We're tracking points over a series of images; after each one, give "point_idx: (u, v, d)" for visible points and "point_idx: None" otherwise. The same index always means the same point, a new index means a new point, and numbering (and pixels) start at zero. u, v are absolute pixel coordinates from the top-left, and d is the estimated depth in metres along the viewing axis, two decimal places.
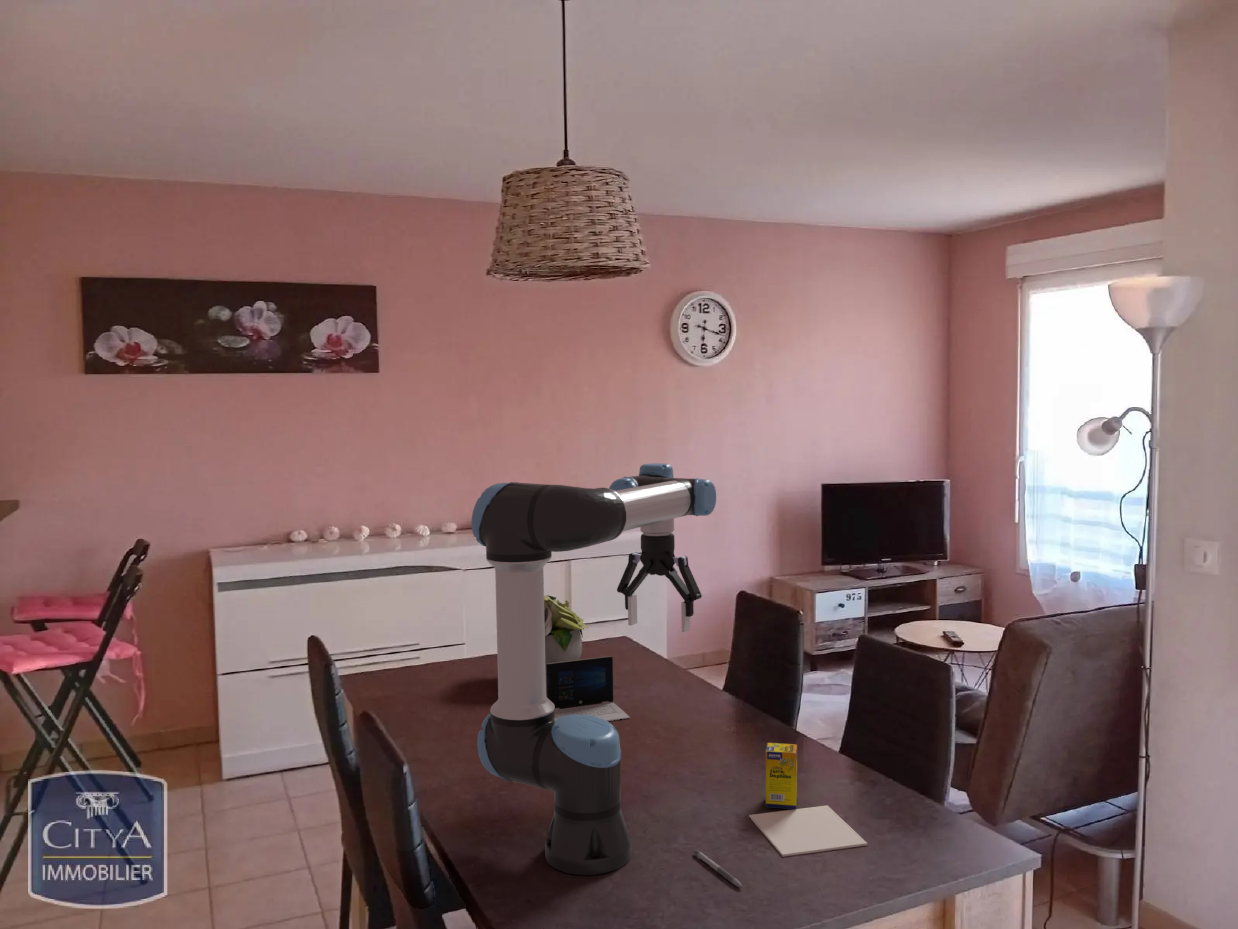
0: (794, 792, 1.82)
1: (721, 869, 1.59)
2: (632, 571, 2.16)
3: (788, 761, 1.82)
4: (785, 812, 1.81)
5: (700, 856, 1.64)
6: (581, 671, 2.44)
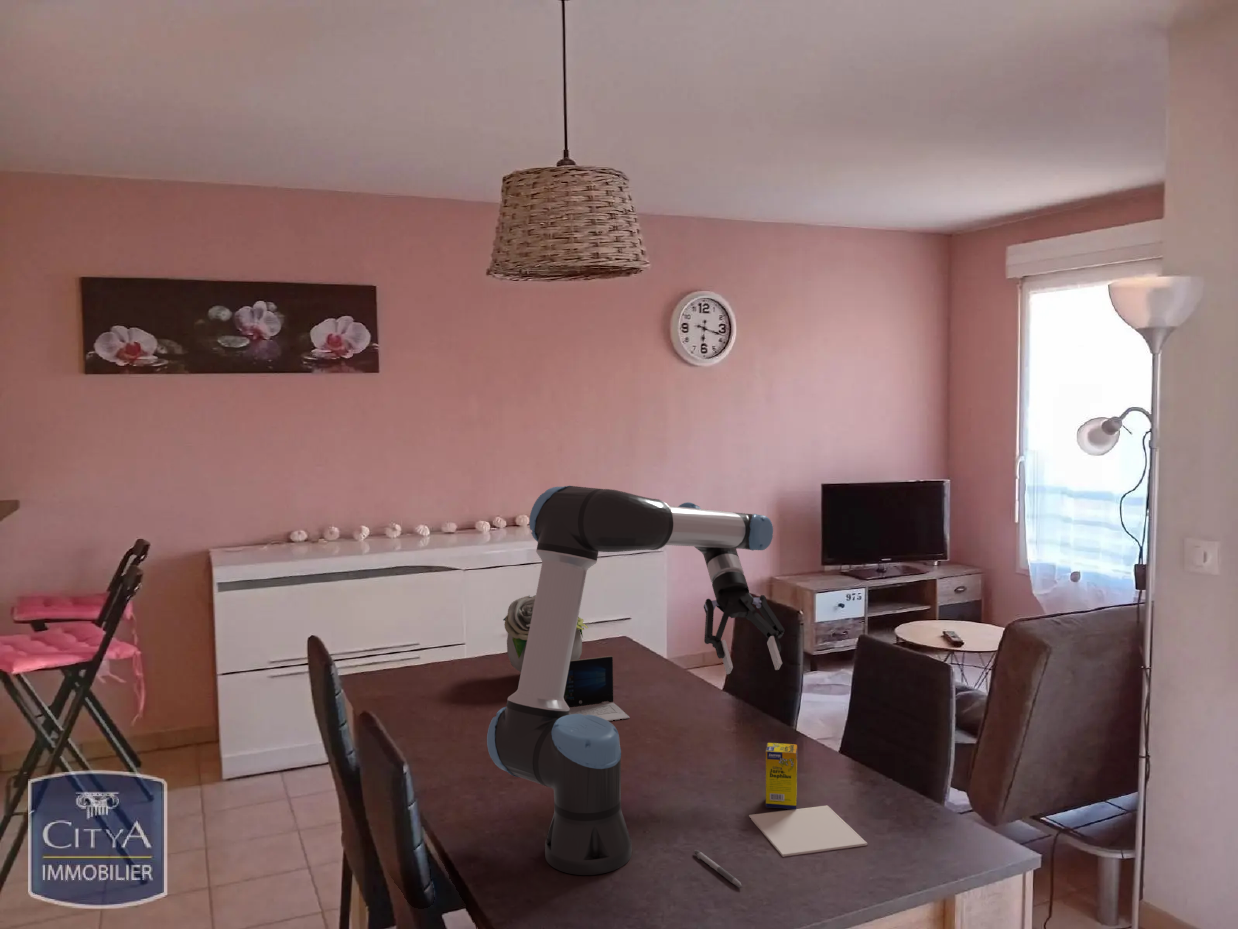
0: (794, 792, 1.82)
1: (721, 869, 1.59)
2: None
3: (788, 761, 1.83)
4: (785, 812, 1.81)
5: (700, 856, 1.64)
6: (581, 670, 2.44)
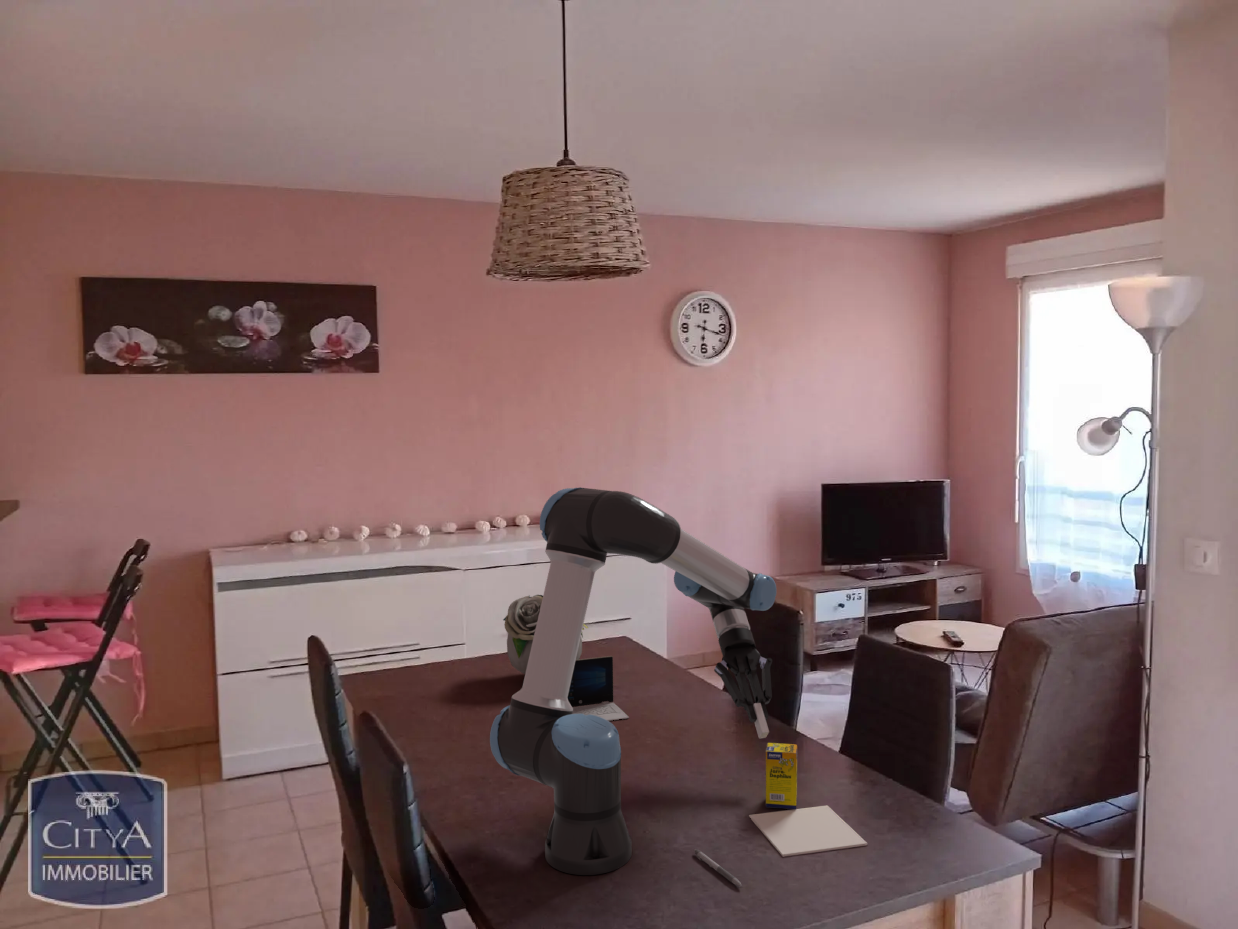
0: (794, 792, 1.82)
1: (721, 868, 1.59)
2: None
3: (788, 761, 1.83)
4: (785, 812, 1.81)
5: (700, 855, 1.64)
6: (581, 670, 2.44)
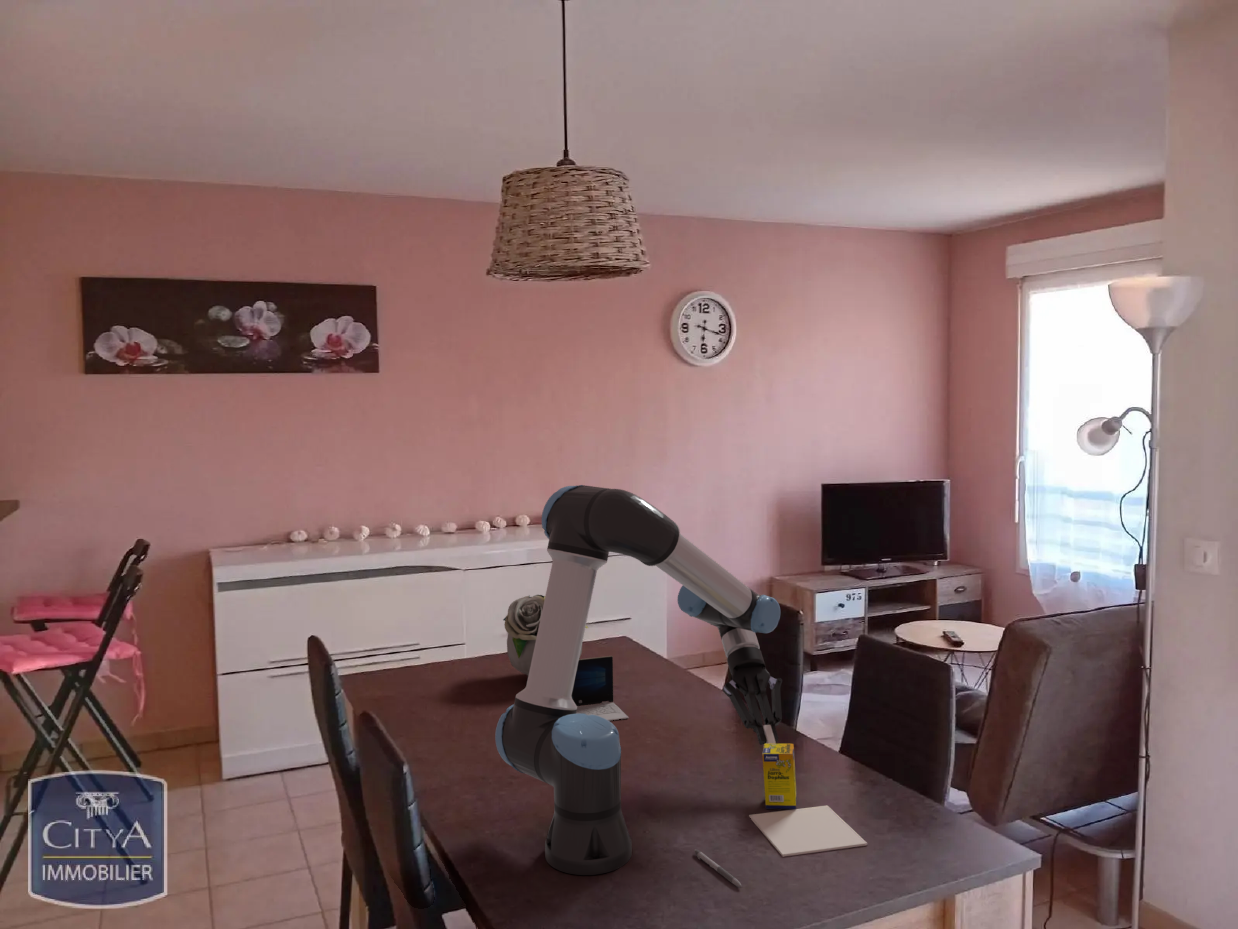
0: (793, 792, 1.82)
1: (721, 869, 1.59)
2: None
3: (785, 762, 1.82)
4: (785, 812, 1.81)
5: (700, 856, 1.64)
6: (581, 670, 2.44)
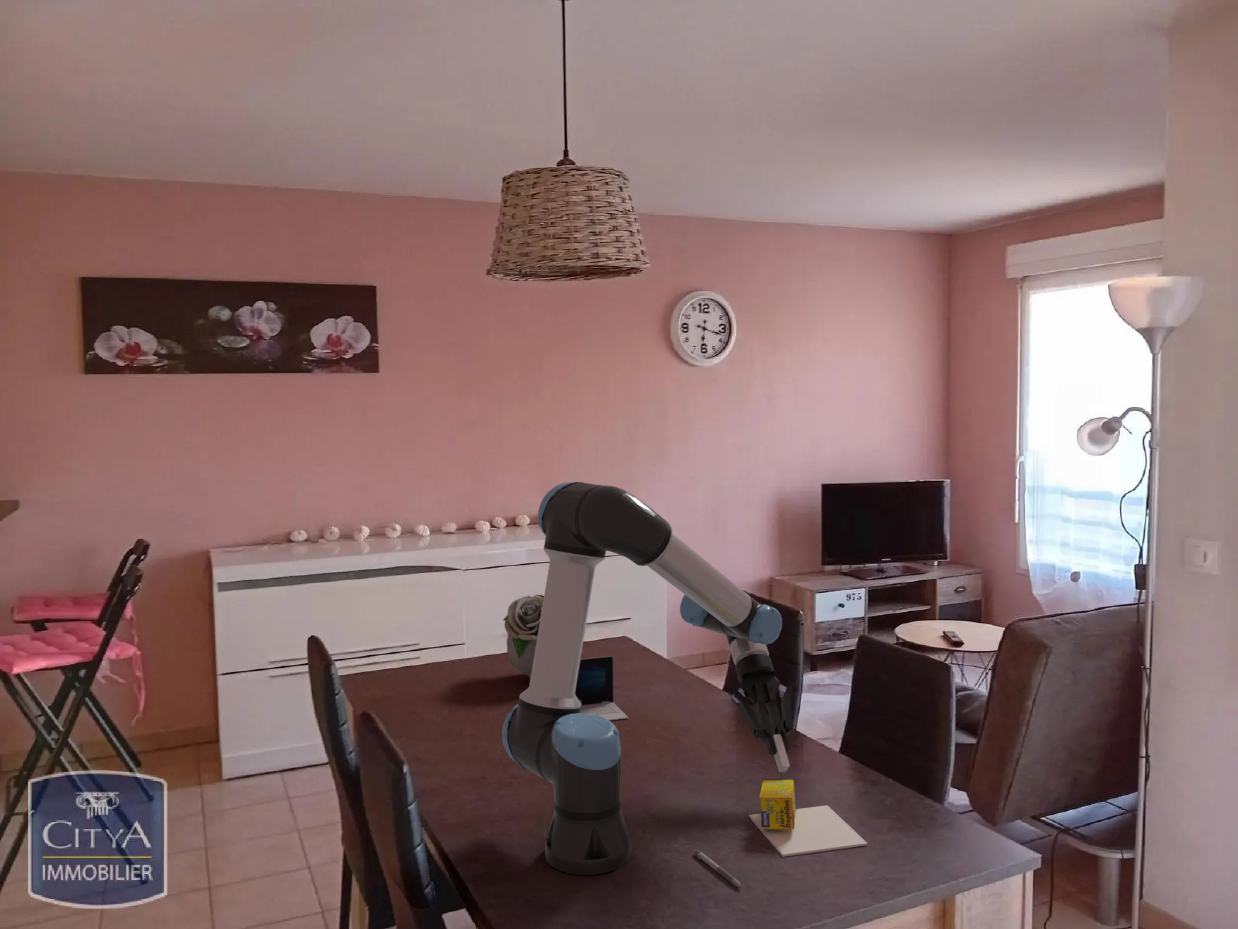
0: None
1: (721, 869, 1.59)
2: None
3: None
4: None
5: (700, 856, 1.64)
6: (581, 670, 2.44)
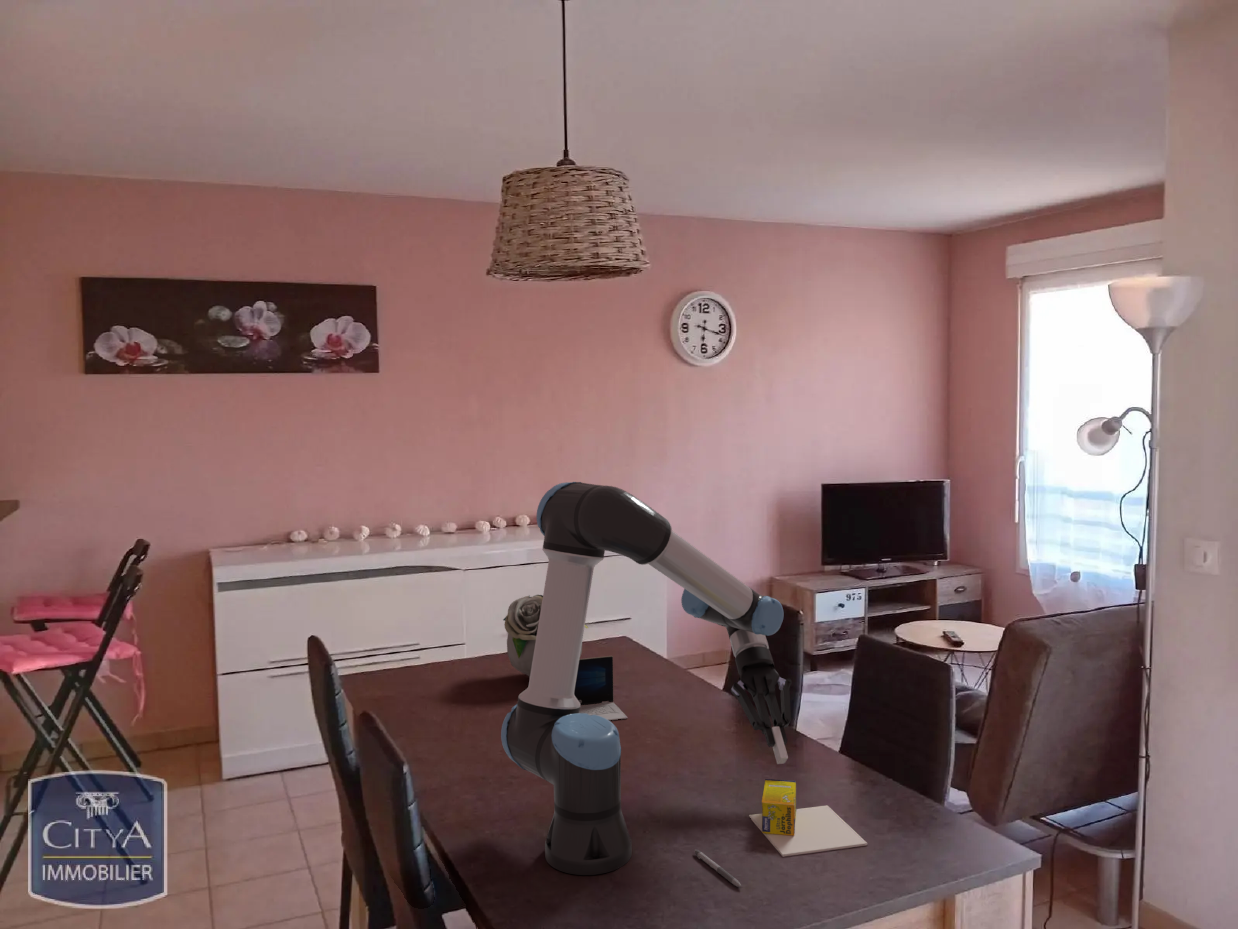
0: None
1: (721, 869, 1.59)
2: None
3: None
4: None
5: (700, 856, 1.64)
6: (581, 670, 2.44)
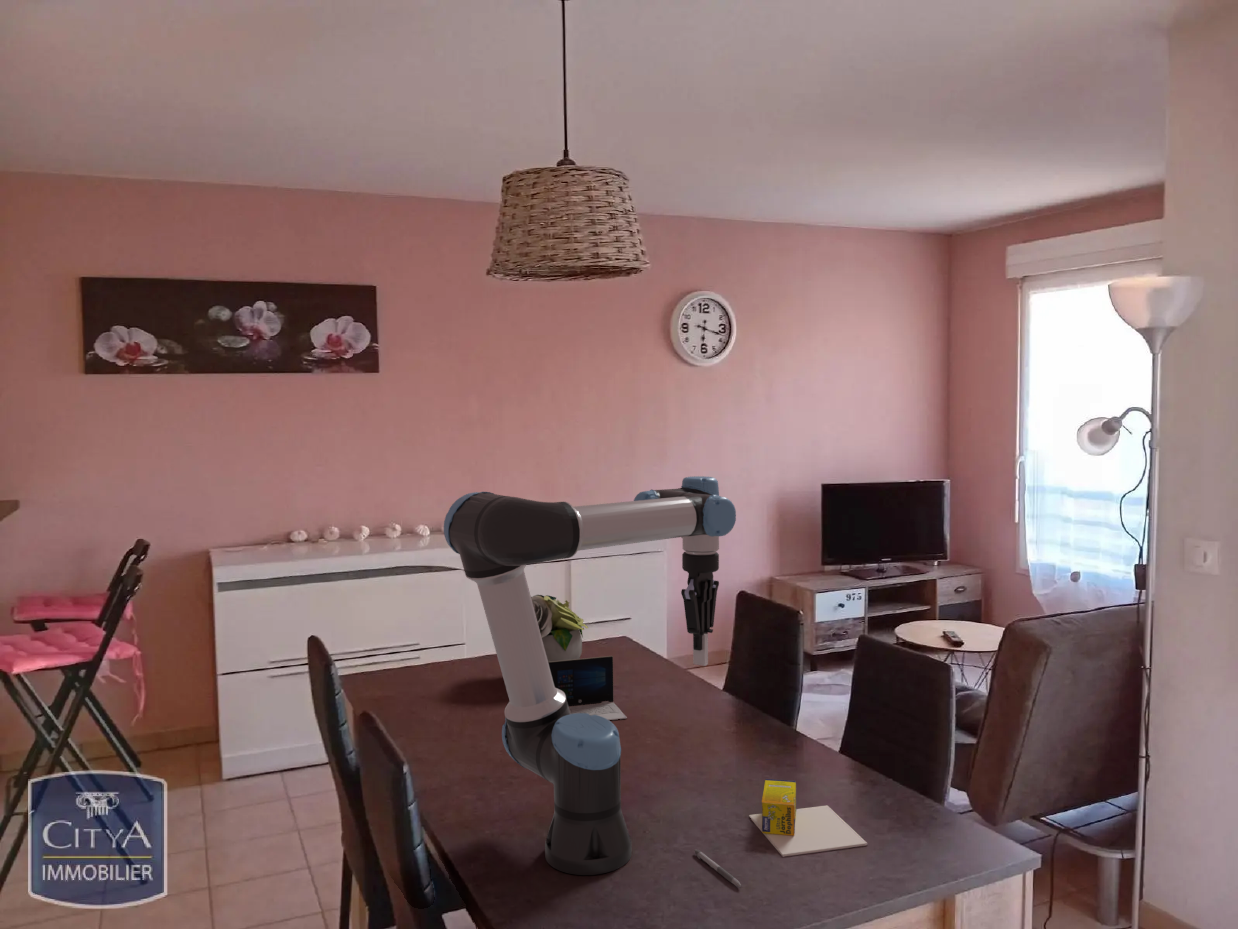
0: None
1: (721, 869, 1.59)
2: None
3: None
4: None
5: (700, 856, 1.64)
6: (581, 670, 2.44)
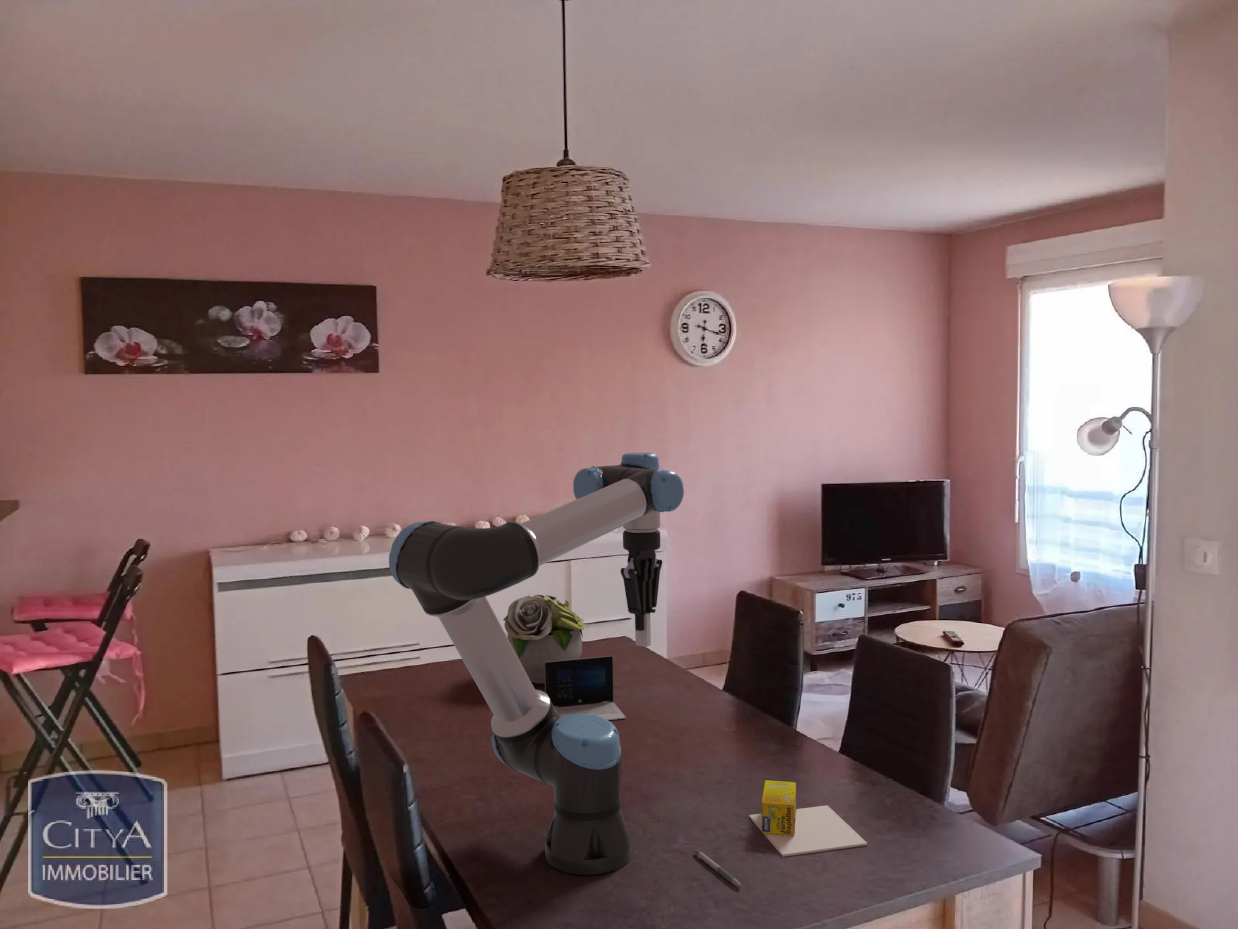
0: None
1: (721, 869, 1.59)
2: None
3: None
4: None
5: (700, 856, 1.64)
6: (580, 670, 2.45)
